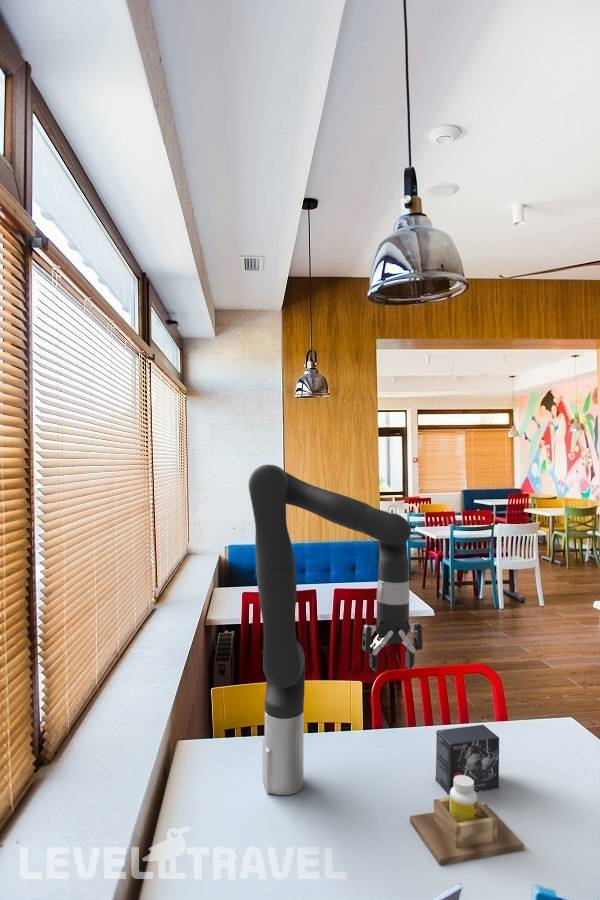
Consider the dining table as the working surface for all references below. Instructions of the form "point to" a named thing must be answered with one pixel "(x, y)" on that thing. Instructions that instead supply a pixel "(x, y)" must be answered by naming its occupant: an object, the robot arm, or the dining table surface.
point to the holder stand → (464, 834)
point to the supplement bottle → (463, 799)
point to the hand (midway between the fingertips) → (391, 668)
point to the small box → (467, 757)
